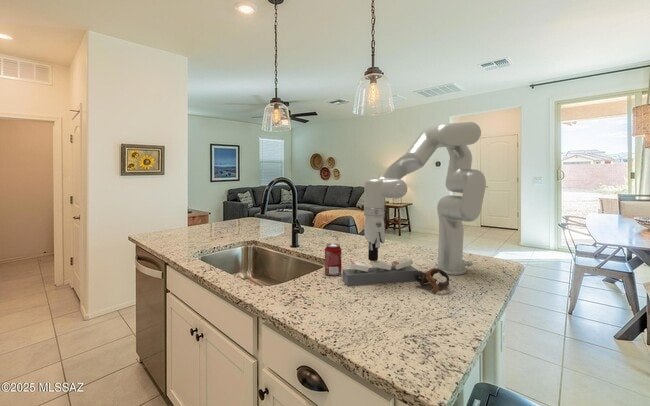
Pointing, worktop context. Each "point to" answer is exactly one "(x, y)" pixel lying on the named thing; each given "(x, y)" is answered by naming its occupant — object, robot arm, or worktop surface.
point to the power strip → (378, 276)
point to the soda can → (333, 259)
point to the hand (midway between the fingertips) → (373, 259)
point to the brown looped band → (432, 279)
